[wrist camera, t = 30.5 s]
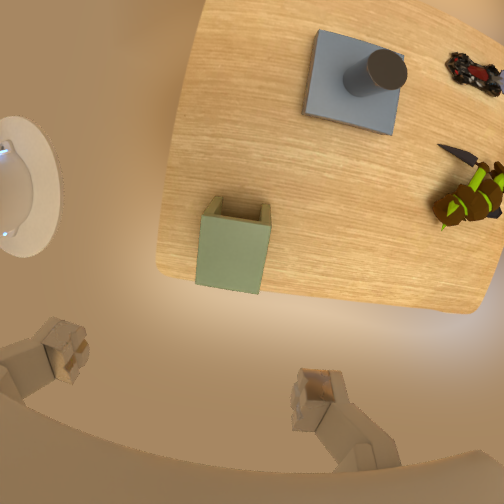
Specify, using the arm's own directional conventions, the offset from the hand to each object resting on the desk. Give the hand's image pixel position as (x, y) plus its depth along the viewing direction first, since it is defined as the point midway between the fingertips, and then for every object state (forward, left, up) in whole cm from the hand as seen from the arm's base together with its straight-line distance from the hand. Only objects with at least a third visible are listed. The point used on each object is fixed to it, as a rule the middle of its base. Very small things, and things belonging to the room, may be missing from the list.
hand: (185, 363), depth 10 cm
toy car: (+33, +27, -35) cm, 55 cm away
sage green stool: (0, -7, -35) cm, 36 cm away
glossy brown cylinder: (+12, +17, -31) cm, 37 cm away
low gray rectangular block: (+12, +17, -35) cm, 41 cm away
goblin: (+34, +7, -35) cm, 49 cm away
